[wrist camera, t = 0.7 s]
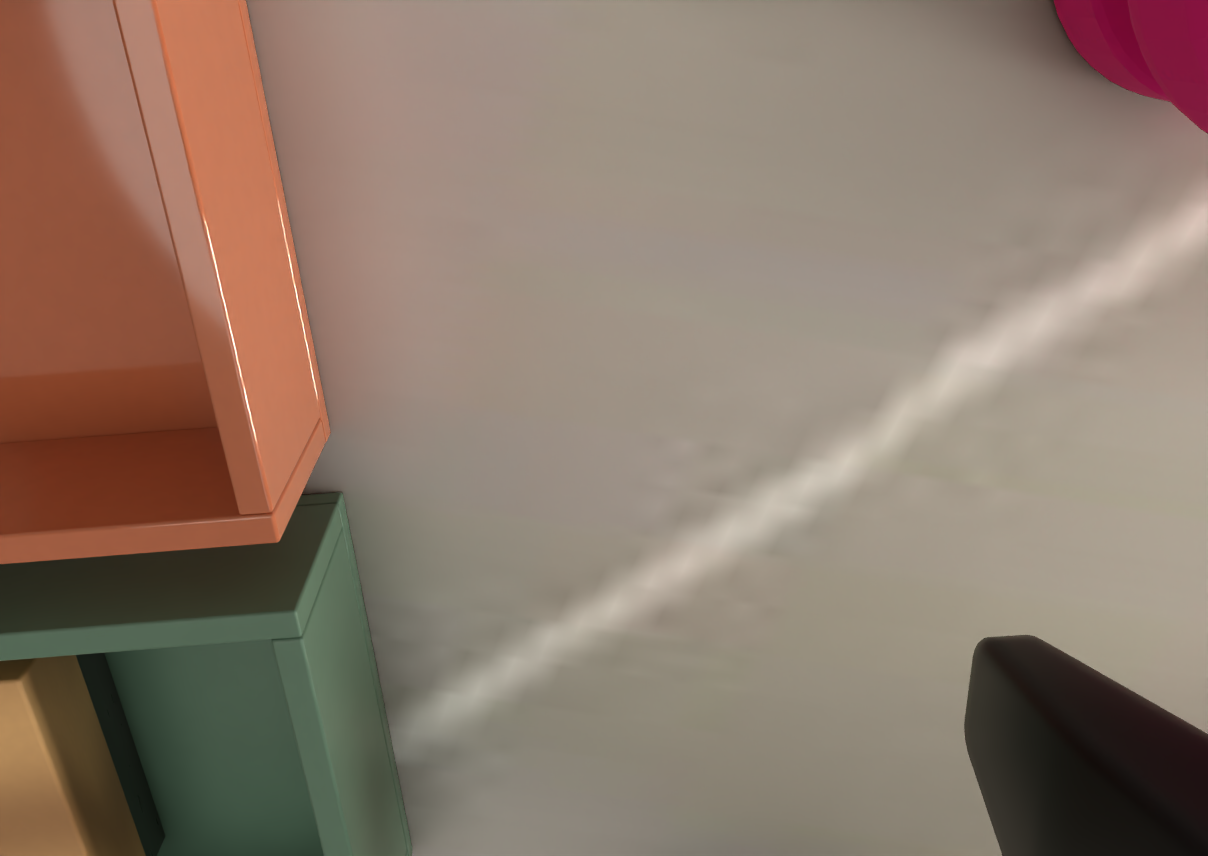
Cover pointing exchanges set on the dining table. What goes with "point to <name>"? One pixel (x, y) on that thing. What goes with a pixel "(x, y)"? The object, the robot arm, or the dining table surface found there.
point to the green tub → (235, 684)
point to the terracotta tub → (145, 286)
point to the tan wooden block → (70, 763)
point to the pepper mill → (1146, 47)
